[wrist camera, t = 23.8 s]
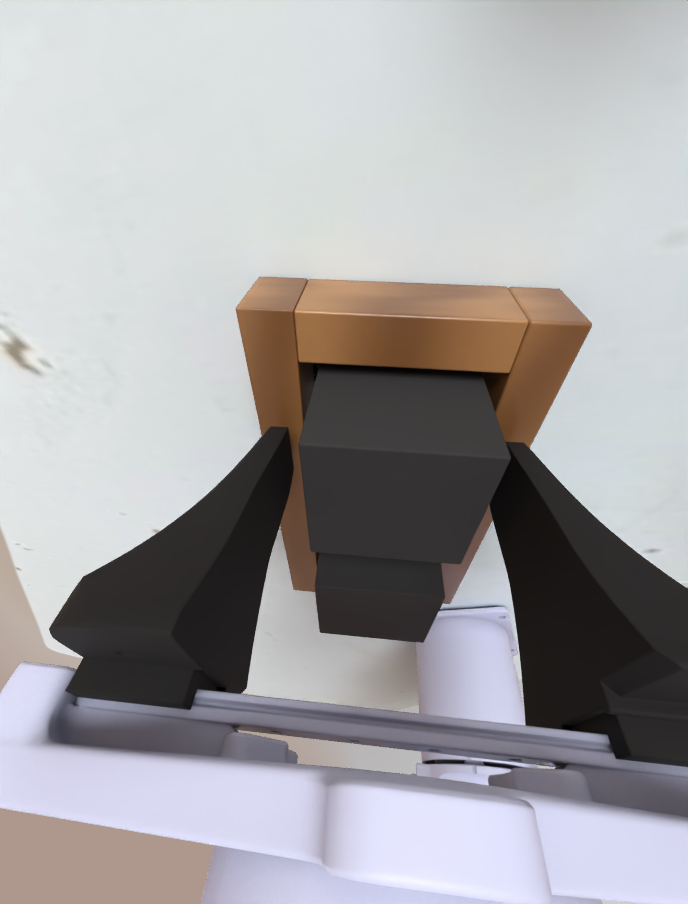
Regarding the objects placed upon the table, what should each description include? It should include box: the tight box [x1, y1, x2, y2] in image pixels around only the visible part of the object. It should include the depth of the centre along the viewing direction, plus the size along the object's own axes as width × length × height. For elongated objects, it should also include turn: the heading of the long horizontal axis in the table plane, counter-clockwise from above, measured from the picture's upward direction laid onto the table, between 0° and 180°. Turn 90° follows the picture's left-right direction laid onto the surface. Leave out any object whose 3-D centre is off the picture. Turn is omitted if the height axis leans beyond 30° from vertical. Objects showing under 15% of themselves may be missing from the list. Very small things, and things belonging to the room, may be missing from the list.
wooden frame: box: [236, 277, 592, 604], centre depth 16 cm, size 9×17×2 cm, turn 0°
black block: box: [298, 363, 511, 564], centre depth 12 cm, size 5×5×6 cm
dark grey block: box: [315, 553, 445, 643], centre depth 18 cm, size 5×5×6 cm
